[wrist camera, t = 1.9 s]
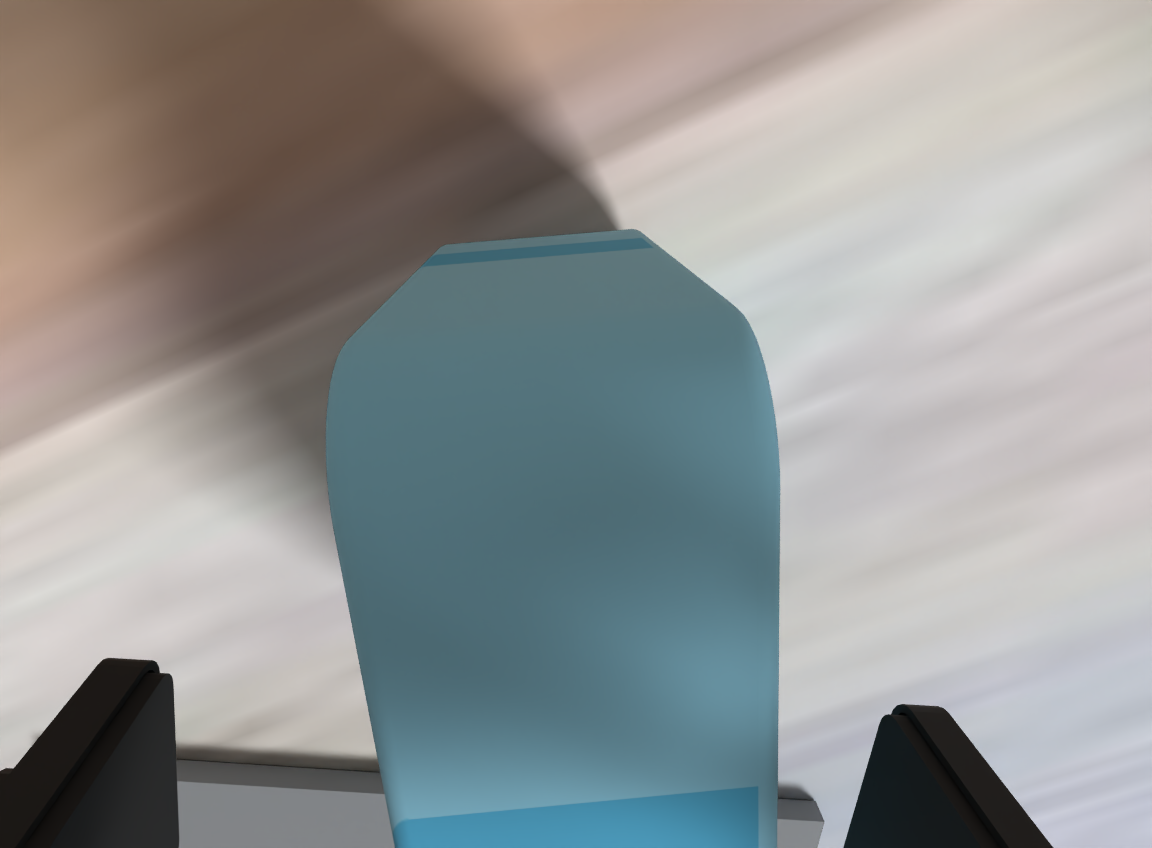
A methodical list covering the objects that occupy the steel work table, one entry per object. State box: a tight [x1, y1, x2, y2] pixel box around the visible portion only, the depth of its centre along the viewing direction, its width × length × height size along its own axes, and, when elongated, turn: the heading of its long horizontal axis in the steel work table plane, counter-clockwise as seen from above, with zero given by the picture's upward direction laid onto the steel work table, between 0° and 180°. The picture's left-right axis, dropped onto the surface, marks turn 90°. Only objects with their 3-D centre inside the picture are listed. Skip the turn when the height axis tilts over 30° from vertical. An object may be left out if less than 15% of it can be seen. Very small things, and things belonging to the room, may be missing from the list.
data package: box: [326, 229, 780, 848], centre depth 15 cm, size 12×4×12 cm, turn 4°
